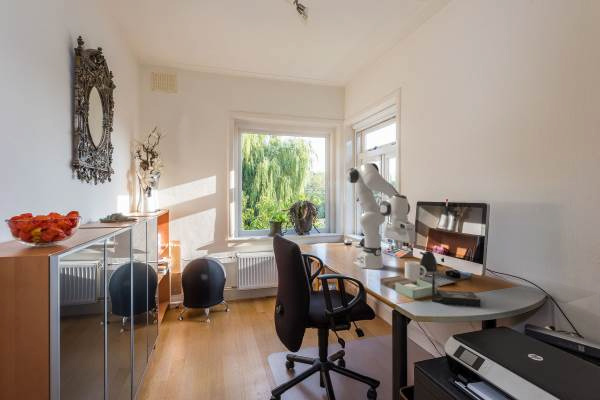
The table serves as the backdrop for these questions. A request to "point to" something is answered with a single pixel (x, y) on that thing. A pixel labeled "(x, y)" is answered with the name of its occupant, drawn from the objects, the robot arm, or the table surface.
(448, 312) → the table surface
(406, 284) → the tile rear
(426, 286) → the tray
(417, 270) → the mug
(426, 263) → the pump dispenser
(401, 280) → the walnut board
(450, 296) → the black rod on base
